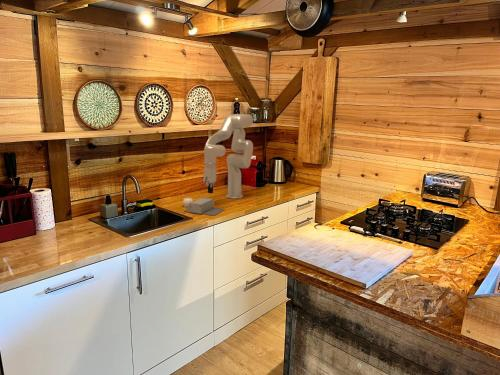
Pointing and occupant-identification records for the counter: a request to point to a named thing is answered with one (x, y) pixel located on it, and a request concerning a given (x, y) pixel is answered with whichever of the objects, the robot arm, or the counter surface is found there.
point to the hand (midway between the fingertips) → (210, 192)
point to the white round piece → (187, 202)
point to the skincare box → (202, 205)
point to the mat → (210, 212)
